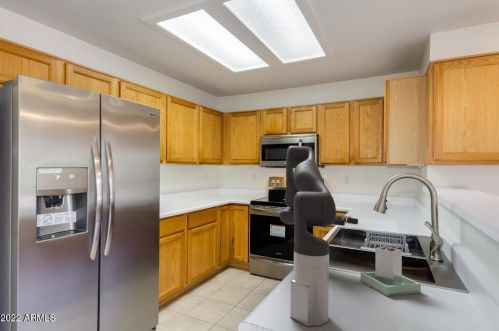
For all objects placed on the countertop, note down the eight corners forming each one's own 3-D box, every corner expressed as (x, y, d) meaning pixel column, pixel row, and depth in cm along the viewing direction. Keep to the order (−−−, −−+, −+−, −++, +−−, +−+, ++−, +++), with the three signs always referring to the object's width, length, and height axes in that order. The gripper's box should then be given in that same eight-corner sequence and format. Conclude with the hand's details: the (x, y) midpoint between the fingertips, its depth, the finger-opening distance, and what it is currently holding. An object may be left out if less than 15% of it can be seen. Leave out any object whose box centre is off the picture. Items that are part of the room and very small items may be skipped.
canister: (393, 289, 90) (393, 252, 90) (375, 283, 95) (375, 248, 95) (401, 285, 93) (401, 249, 94) (384, 279, 98) (384, 246, 99)
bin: (387, 296, 86) (387, 287, 86) (360, 281, 99) (360, 272, 99) (420, 293, 89) (420, 283, 89) (390, 278, 102) (390, 270, 102)
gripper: (306, 209, 113) (339, 213, 100) (328, 208, 121) (361, 211, 108) (306, 227, 112) (339, 233, 99) (328, 225, 121) (361, 230, 108)
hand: (351, 222), depth 104 cm, fingers open, 8 cm apart
